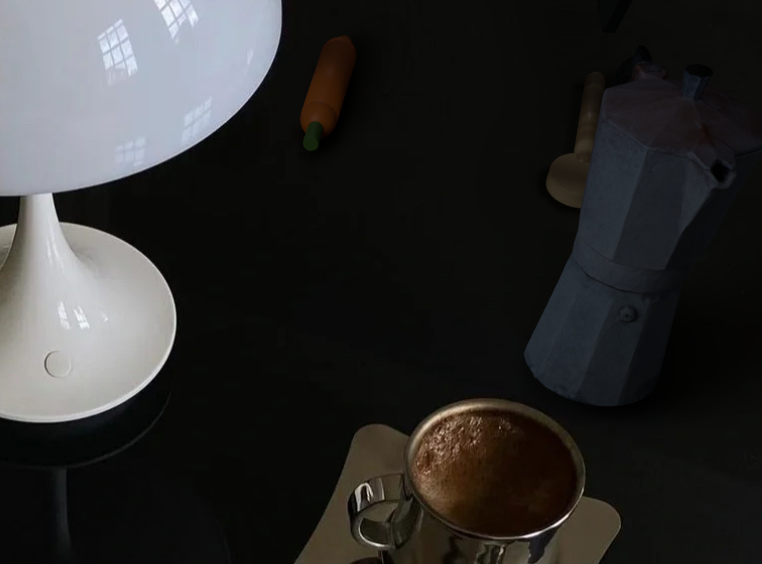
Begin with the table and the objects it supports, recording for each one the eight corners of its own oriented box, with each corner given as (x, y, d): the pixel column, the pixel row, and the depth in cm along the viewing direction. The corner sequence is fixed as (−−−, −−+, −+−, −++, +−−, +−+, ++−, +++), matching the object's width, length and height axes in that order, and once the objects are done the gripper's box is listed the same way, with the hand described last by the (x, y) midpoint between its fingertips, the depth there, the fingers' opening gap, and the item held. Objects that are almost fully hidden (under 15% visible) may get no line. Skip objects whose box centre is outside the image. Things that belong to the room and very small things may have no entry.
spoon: (562, 81, 105) (568, 62, 104) (623, 91, 105) (629, 73, 104) (542, 201, 98) (548, 183, 96) (607, 214, 97) (614, 195, 96)
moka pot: (565, 441, 82) (675, 120, 67) (476, 308, 92) (554, 2, 77) (703, 429, 84) (840, 113, 69) (601, 299, 94) (702, -1, 79)
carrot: (326, 46, 107) (330, 13, 105) (360, 52, 107) (365, 19, 104) (290, 157, 100) (294, 123, 97) (326, 163, 99) (331, 130, 97)
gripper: (822, -179, 88) (891, 79, 81) (458, -207, 85) (499, 60, 78) (893, -296, 80) (975, -22, 74) (498, -330, 77) (548, -48, 71)
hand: (731, 20), depth 76 cm, fingers open, 13 cm apart
